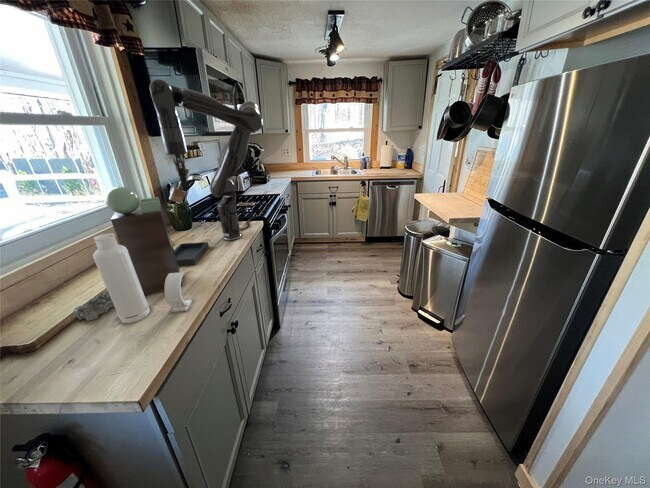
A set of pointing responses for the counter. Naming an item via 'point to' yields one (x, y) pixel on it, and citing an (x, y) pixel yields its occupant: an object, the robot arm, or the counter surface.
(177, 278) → the headphone stand
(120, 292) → the bottle
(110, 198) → the flask
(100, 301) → the grey rock
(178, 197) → the wooden mallet
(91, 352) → the counter surface
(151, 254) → the stand
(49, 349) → the counter surface
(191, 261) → the tray
